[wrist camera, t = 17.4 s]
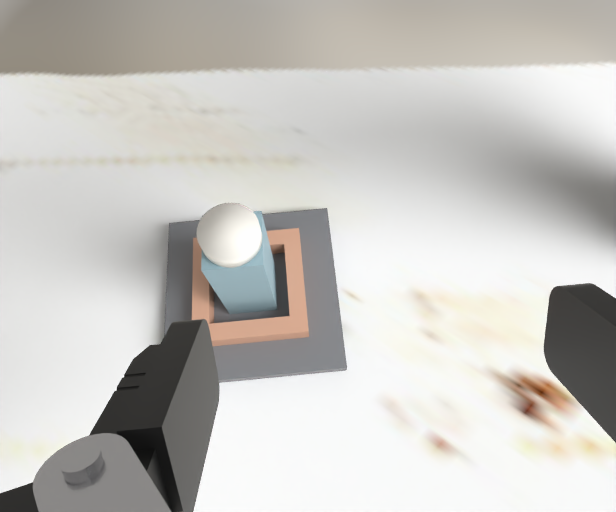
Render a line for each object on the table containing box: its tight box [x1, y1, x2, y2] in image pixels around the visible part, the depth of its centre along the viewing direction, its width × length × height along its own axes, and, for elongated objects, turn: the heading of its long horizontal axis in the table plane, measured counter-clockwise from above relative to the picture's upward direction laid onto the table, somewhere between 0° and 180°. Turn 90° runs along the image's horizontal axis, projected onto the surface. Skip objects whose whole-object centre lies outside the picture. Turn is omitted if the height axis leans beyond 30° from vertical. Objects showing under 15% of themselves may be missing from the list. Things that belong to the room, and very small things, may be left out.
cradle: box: [165, 208, 347, 383], centre depth 42 cm, size 16×16×3 cm
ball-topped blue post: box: [196, 203, 278, 314], centre depth 37 cm, size 4×4×12 cm
